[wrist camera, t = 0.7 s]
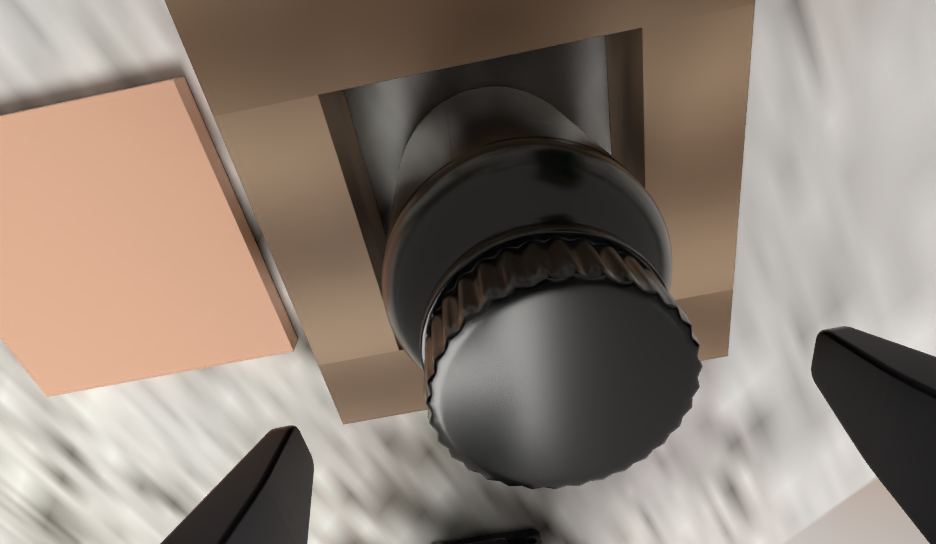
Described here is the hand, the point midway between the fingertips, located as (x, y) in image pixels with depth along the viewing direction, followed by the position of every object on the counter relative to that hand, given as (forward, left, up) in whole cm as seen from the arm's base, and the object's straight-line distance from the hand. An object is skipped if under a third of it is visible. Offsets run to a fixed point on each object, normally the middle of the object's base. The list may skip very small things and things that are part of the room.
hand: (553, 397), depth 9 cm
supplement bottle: (0, 0, -12) cm, 12 cm away
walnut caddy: (0, 0, -12) cm, 12 cm away
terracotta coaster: (0, +15, -12) cm, 19 cm away
